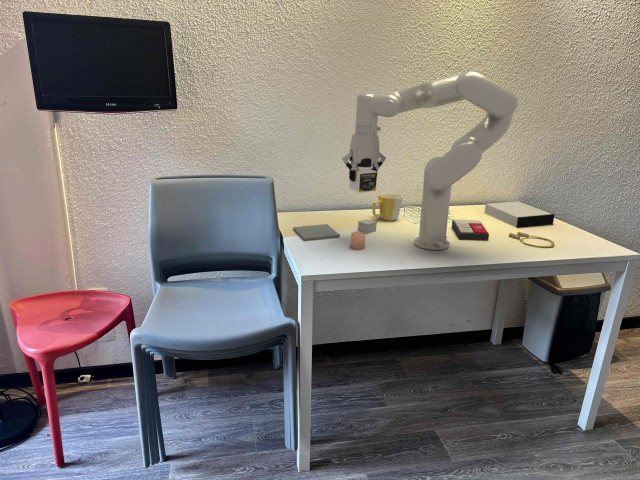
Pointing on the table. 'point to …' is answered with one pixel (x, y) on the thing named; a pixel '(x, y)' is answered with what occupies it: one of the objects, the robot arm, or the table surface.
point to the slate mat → (316, 232)
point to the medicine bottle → (364, 177)
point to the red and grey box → (469, 230)
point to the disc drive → (519, 214)
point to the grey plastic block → (367, 226)
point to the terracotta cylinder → (357, 241)
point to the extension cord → (528, 238)
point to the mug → (388, 205)
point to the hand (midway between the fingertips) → (362, 180)
